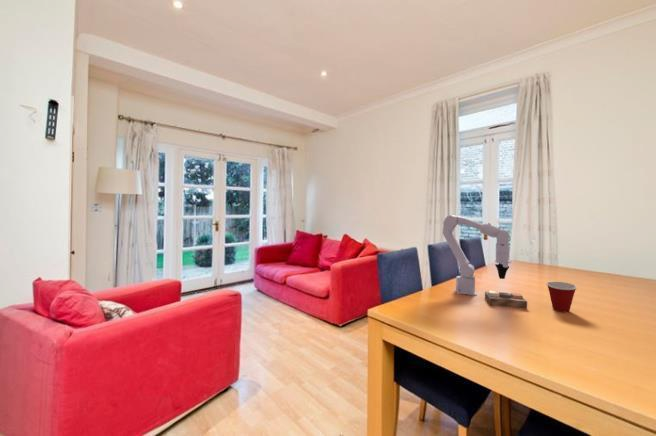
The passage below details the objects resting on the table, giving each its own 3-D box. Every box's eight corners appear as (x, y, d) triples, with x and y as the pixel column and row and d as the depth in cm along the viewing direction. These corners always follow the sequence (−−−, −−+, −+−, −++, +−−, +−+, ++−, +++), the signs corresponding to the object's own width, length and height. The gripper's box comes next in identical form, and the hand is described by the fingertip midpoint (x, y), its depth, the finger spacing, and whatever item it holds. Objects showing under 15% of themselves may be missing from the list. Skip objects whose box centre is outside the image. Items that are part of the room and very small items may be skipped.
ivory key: (490, 299, 134) (490, 292, 134) (488, 296, 138) (488, 290, 138) (499, 300, 133) (499, 293, 133) (497, 297, 137) (497, 291, 137)
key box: (490, 305, 131) (490, 298, 131) (485, 298, 142) (485, 291, 142) (527, 309, 127) (527, 301, 126) (518, 301, 137) (519, 294, 137)
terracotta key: (512, 301, 131) (512, 295, 131) (510, 299, 135) (510, 292, 135) (522, 302, 130) (522, 296, 130) (519, 300, 134) (519, 293, 134)
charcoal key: (501, 301, 133) (501, 294, 133) (499, 298, 137) (499, 292, 137) (510, 302, 132) (511, 295, 131) (508, 299, 135) (508, 293, 135)
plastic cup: (541, 308, 127) (541, 283, 126) (551, 304, 132) (551, 280, 132) (571, 316, 117) (571, 288, 117) (580, 311, 123) (581, 285, 123)
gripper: (515, 255, 134) (515, 282, 135) (507, 250, 148) (506, 275, 148) (498, 254, 137) (498, 281, 137) (492, 250, 150) (492, 274, 151)
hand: (501, 278), depth 143 cm, fingers closed
